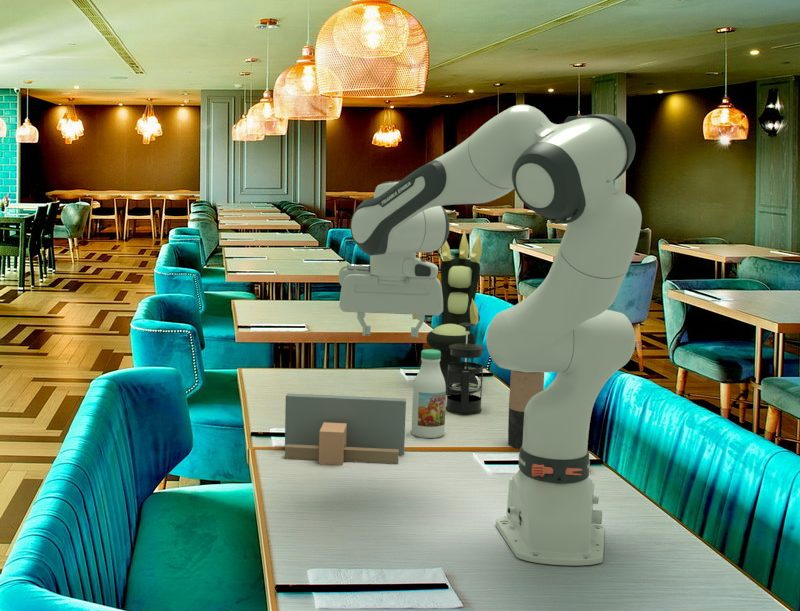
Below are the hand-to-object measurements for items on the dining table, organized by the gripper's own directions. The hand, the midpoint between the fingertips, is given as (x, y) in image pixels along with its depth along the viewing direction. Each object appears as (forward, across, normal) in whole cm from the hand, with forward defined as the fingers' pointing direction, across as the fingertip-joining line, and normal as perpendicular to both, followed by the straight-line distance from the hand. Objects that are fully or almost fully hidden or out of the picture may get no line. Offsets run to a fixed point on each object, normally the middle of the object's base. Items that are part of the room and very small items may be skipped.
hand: (390, 336), depth 177 cm
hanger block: (+29, -12, +11) cm, 33 cm away
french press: (+29, +17, +56) cm, 65 cm away
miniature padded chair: (+29, +13, +82) cm, 88 cm away
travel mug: (+29, +30, +28) cm, 50 cm away
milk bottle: (+29, +8, +33) cm, 45 cm away
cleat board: (+29, -10, +14) cm, 34 cm away
